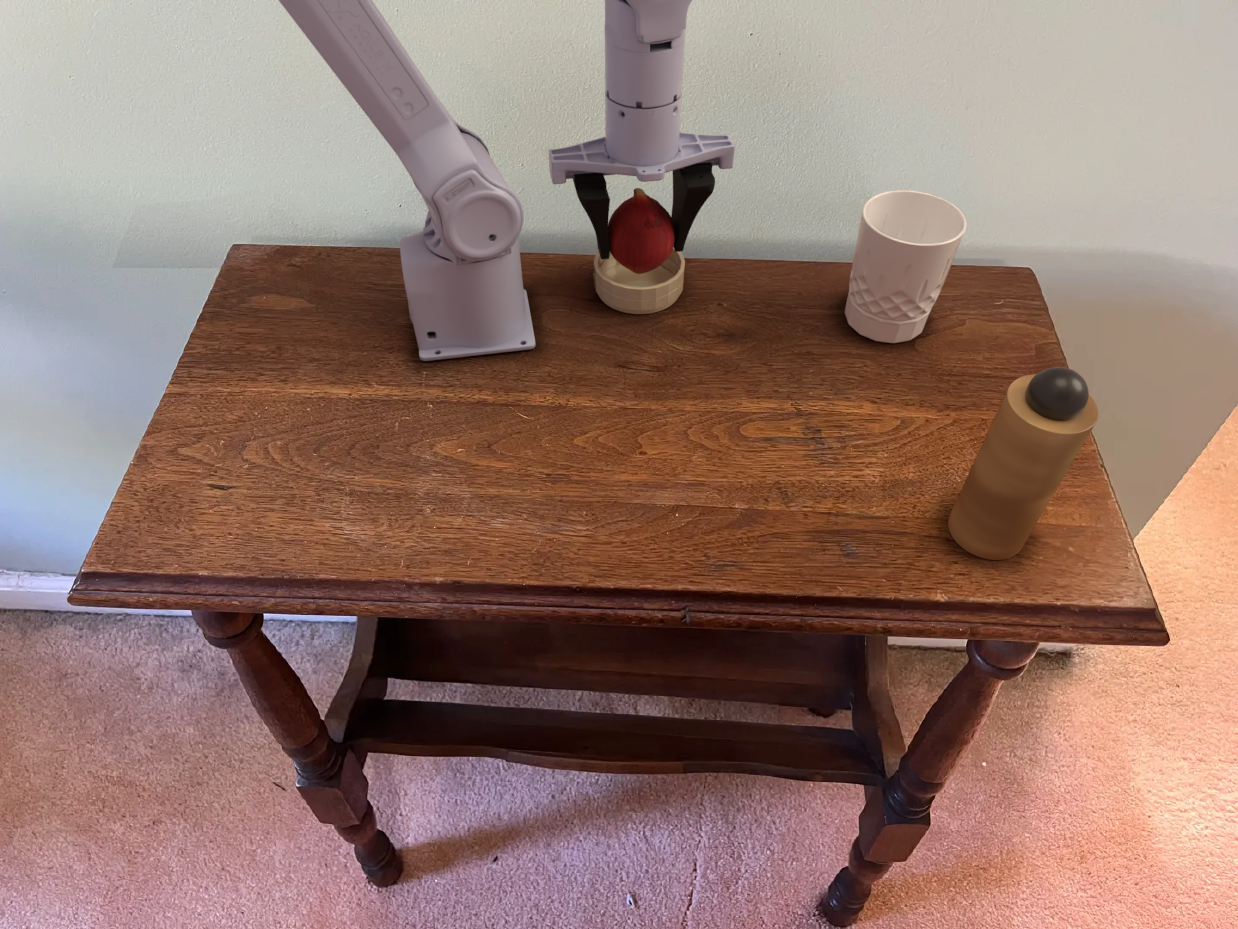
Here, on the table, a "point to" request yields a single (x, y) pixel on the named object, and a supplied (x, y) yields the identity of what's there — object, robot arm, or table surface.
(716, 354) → the table surface
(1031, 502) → the pepper mill
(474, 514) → the table surface
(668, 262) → the bowl
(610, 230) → the onion
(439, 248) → the robot arm
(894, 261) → the white cup
